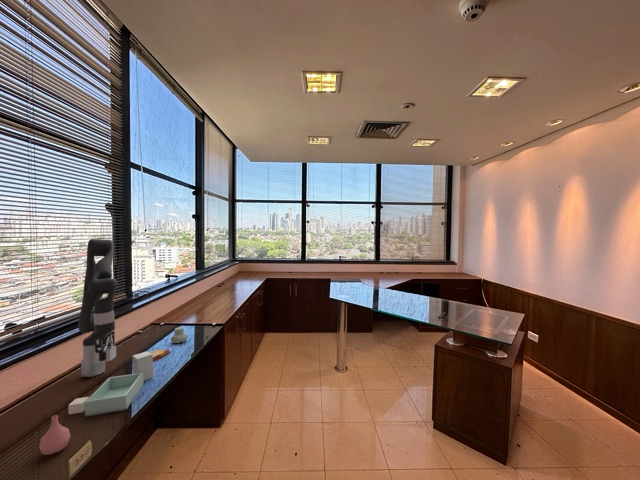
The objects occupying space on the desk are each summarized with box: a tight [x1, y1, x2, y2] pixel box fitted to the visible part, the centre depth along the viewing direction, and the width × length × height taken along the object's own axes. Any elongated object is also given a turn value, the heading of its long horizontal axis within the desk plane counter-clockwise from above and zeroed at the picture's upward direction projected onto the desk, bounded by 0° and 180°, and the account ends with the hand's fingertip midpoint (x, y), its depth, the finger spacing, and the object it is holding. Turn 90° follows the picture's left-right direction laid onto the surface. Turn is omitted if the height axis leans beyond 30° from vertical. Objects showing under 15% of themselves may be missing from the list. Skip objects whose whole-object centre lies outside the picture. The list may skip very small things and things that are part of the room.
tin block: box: [95, 345, 117, 363], centre depth 125 cm, size 6×6×5 cm
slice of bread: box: [149, 348, 171, 363], centre depth 168 cm, size 18×18×4 cm
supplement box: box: [132, 351, 154, 382], centre depth 143 cm, size 7×7×13 cm
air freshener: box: [170, 326, 189, 344], centre depth 195 cm, size 11×8×10 cm
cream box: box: [68, 396, 90, 415], centre depth 117 cm, size 5×5×4 cm
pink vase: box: [38, 414, 72, 456], centre depth 93 cm, size 8×8×12 cm
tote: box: [84, 373, 144, 418], centre depth 124 cm, size 15×22×6 cm
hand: (105, 357), depth 125 cm, fingers closed on tin block, 6 cm apart
